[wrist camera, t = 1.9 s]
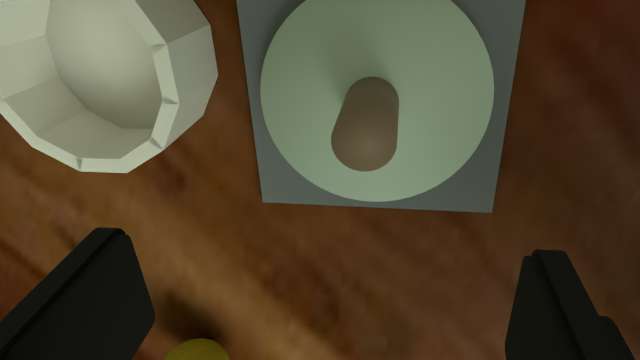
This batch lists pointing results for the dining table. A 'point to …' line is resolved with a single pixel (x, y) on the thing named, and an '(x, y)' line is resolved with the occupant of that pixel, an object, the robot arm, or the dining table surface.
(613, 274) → the dining table surface
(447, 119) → the lid
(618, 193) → the dining table surface
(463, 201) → the mat
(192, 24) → the bowl
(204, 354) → the lemon
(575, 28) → the dining table surface
